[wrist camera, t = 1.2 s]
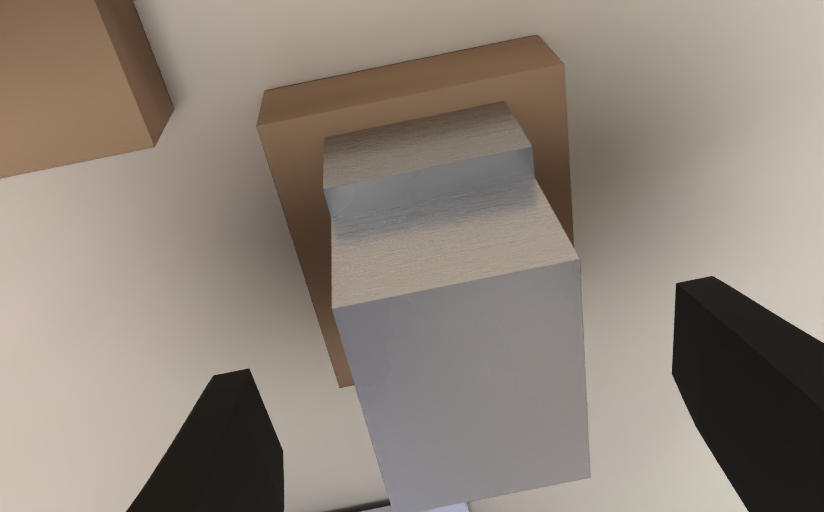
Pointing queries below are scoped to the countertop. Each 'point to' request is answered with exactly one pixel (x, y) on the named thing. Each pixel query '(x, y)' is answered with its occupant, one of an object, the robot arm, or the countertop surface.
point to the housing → (457, 308)
